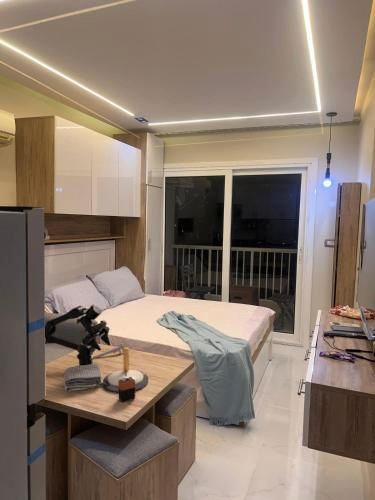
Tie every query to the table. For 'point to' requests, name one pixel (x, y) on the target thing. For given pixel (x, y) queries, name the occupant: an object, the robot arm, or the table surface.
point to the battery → (126, 389)
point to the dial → (125, 371)
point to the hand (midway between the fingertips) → (105, 347)
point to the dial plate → (116, 389)
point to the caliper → (110, 351)
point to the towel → (82, 377)
